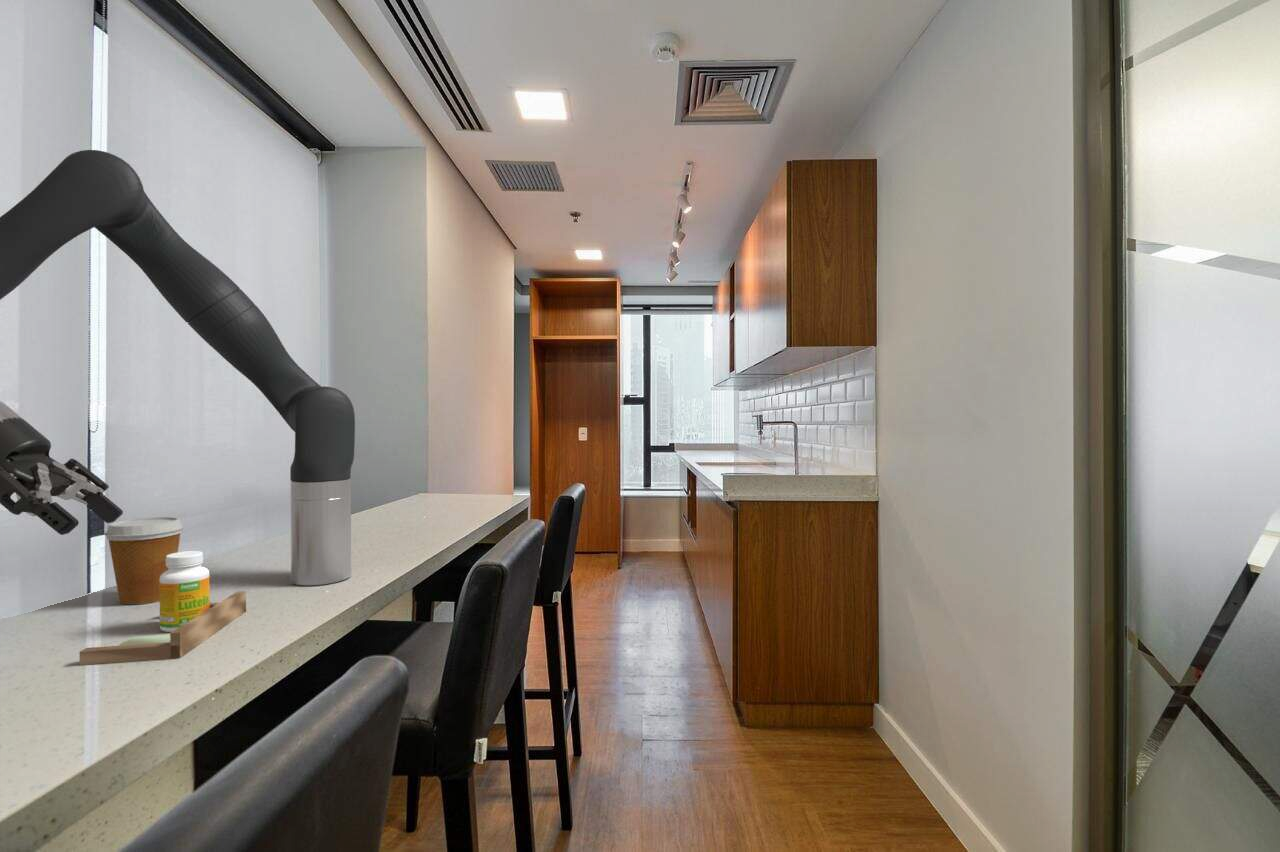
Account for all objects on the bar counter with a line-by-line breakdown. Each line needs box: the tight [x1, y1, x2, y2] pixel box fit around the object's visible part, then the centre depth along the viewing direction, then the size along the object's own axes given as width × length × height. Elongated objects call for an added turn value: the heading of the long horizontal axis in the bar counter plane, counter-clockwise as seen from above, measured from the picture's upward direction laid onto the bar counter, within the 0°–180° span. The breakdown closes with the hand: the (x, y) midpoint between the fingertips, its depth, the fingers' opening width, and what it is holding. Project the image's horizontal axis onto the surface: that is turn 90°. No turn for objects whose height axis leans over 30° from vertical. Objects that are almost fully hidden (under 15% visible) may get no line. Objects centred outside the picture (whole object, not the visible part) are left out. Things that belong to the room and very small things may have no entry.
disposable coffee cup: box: [103, 516, 185, 605], centre depth 94 cm, size 10×10×12 cm
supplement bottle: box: [159, 550, 211, 633], centre depth 82 cm, size 5×5×10 cm
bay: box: [79, 590, 247, 666], centre depth 78 cm, size 17×10×3 cm, turn 11°
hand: (95, 523), depth 80 cm, fingers open, 8 cm apart
